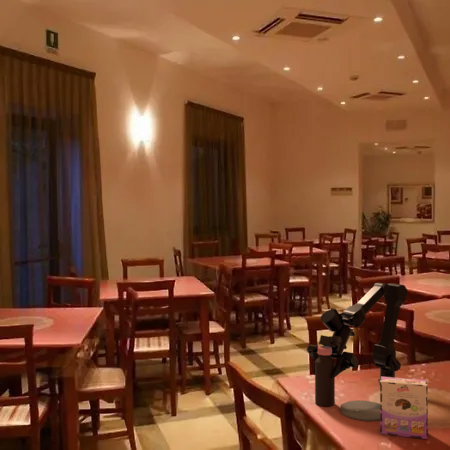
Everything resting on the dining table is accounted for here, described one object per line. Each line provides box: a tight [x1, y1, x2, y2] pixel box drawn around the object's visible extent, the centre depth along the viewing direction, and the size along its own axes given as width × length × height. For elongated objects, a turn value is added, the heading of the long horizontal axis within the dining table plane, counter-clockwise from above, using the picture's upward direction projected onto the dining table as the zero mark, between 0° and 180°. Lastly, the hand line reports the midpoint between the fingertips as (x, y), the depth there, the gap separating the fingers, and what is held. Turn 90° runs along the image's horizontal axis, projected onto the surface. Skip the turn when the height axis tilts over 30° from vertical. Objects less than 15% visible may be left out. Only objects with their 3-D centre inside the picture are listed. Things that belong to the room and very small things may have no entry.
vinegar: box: [314, 345, 336, 407], centre depth 189 cm, size 7×7×20 cm
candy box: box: [379, 376, 429, 440], centre depth 164 cm, size 14×6×16 cm, turn 71°
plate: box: [339, 399, 380, 422], centre depth 181 cm, size 16×16×1 cm
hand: (322, 376), depth 188 cm, fingers closed on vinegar, 7 cm apart
